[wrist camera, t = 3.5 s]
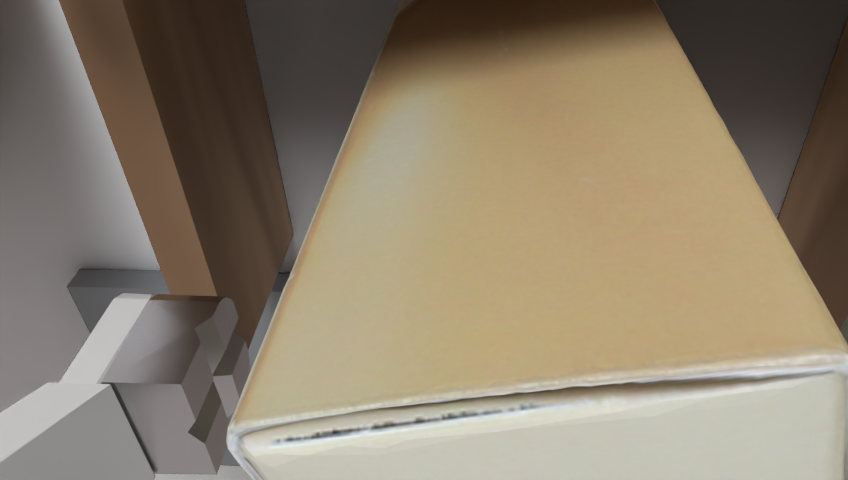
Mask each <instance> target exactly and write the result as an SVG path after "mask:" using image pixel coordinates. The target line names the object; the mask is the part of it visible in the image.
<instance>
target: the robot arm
mask: <svg viewBox="0 0 848 480" xmlns="http://www.w3.org/2000/svg"><path fill="white" fill-rule="evenodd" d="M238 318H239V317H238V314H237V311H236V308H235V305H234V302H233V300H232V299H230V298H227V297H219V296H196V295H173V294H157V295H152V294H132V293H123V294H121V295H119V296H118V297H116V298H114V299H113V300H112V302H111V303H110V305H109V306H108V308H107V309H106V311H105V312H104V314H103V315H102V317H101V319H100V320H99V322H98V323H97V325H96V326H95V328H94V329H93V331H92V332H91V334H90V335H89V337H88V338H87V340H86V341H85V343H84V344H83V346H82V348H81V349H80V351H79V352H78V354H77V355H76V357H75V358H74V360H73V361H72V363H71V364H70V366H69V367H68V369H67V370H66V372H65V374H64V375H63V377H62V378H61V380H60V381H59V382H47V383H46V384H44V385H43V386H41V387H40V388H38V389H36V390H35V391H33V392H32V393H30V394H29V395H27V396H25V397H24V398H22V399H21V400H19V401H18V402H16V403H14V404H13V405H11V406H10V407H8V408H7V409H5V410H3V411H2V412H0V480H153V479H154V478H155V474H215V475H217V472H218V470H219V467H220V464H221V461H222V459H223V456H224V453H225V450H226V448H227V443H226V437H227V428H228V426H229V422H228V419H227V417H229V416H230V415H231V414H232V413H233V412H235V409H236V407H237V404H238V402H239V399H240V397H241V394H242V391H243V389H244V386H245V384H246V381H247V379H248V376H249V372H250V363H249V352H248V349H247V345H246V341H245V340H244V339H243V338H242V337H241V336H239V335H238V334H237V333H236V332H235V331H233V330H234V328H235V325H236V323H237V320H238ZM840 332H841V333H842V335H843V337H844V339H845V341H846V343H847V345H848V316H847V317H846V319H845V321H844V323H843V325H842V327H841V330H840Z"/></svg>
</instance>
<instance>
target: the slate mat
mask: <svg viewBox="0 0 848 480" xmlns="http://www.w3.org/2000/svg"><path fill="white" fill-rule="evenodd" d="M289 276H290V274H278V275H277V277H276V280H275V282H274V285H273V288H272V290H271V293H270V295H269V298H268V300H267V303H266V306H265V308H264V311H263V313H262V316H261V318H260V321H259V323H258V326H257V329H256V331H255V334H254V336H253V339H252V341H251V344H250V347H249V349H248V352H249V363H250V371H251V369H252V366H253V364H254V362H255V359H256V357H257V354H258V352H259V349H260V347H261V344H262V342H263V340H264V337H265V335H266V332H267V330H268V327H269V325H270V322H271V320H272V317H273V315H274V312H275V310H276V307H277V304H278V302H279V299H280V297H281V294H282V292H283V289H284V287H285V285H286V283H287V281H288V278H289ZM67 288H68V290H69V292H70V294H71V296H72V298H73V300H74V302H75V304H76V306H77V308H78V310H79V312H80V314H81V316H82V318H83V320H84V322H85V324H86V326H87V328H88V330H89V331H90V333H91V332H92V331H93V329H94V328H95V326H96V325H97V323H98V322H99V320H100V319H101V317H102V315H103V314H104V312H105V311H106V309H107V308H108V306H109V305H110V303H111V302H112V300H113V299H114V298H116V297H118V296H119V295H121V294H123V293H132V294H152V295H157V294H170V292H169V289H168V287H167V284H166V281H165V279H164V276H163V273H162V271H141V270H96V269H80V270H79V271H78V272H77V274H76V275H75V276H74V278H73V279H72V280H71V282H70V283H69V284H68V286H67ZM249 374H250V372H249ZM233 414H234V412H233V413H232V414H231V415H230V416H229V417H227V419H228V422H229V423H230V421H231V419H232V416H233ZM220 465H229V466H240V464H239V463H238V462H237V461H236V459H235V458H234V457H233V455H232V454H231V452H230V451H229V450H228V447H227V448H226V450H225V453H224V456H223V459H222V461H221V464H220Z"/></svg>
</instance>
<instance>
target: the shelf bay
mask: <svg viewBox="0 0 848 480" xmlns="http://www.w3.org/2000/svg"><path fill="white" fill-rule="evenodd" d="M59 2H60V4H61V7H62V10H63V12H64V15H65V17H66V20H67V23H68V25H69V28H70V31H71V33H72V36H73V39H74V41H75V44H76V46H77V49H78V52H79V54H80V57H81V60H82V62H83V65H84V68H85V70H86V73H87V76H88V78H89V81H90V83H91V86H92V89H93V91H94V94H95V97H96V99H97V102H98V105H99V107H100V110H101V112H102V115H103V118H104V120H105V123H106V126H107V128H108V131H109V134H110V136H111V139H112V141H113V144H114V147H115V149H116V152H117V155H118V157H119V160H120V163H121V165H122V168H123V170H124V173H125V176H126V178H127V181H128V184H129V186H130V189H131V192H132V194H133V197H134V200H135V202H136V205H137V207H138V210H139V213H140V215H141V218H142V221H143V223H144V226H145V229H146V231H147V234H148V236H149V239H150V242H151V244H152V247H153V250H154V252H155V255H156V258H157V260H158V263H159V265H160V268H161V271H162V273H163V276H164V279H165V281H166V284H167V287H168V289H169V292H170V294H173V295H196V296H219V297H227V298H230V299H232V300H233V302H234V305H235V308H236V311H237V314H238V317H239V318H238V320H237V323H236V325H235V328H234V330H233V331H235V332H236V333H237V334H238V335H239V336H241V337H242V338H243V339H244V340H245V341H246V345H247V349H249V347H250V344H251V341H252V339H253V336H254V334H255V331H256V329H257V326H258V323H259V321H260V318H261V316H262V313H263V311H264V308H265V306H266V303H267V300H268V298H269V295H270V293H271V290H272V288H273V285H274V282H275V280H276V277H277V275H278V272H279V270H280V267H281V264H282V262H283V259H284V257H285V254H286V252H287V249H288V247H289V244H290V241H291V239H292V236H293V231H292V226H291V221H290V216H289V212H288V207H287V202H286V197H285V193H284V188H283V183H282V178H281V174H280V169H279V164H278V159H277V155H276V150H275V145H274V140H273V136H272V131H271V126H270V121H269V116H268V112H267V107H266V102H265V97H264V93H263V88H262V83H261V78H260V74H259V69H258V64H257V59H256V55H255V50H254V45H253V40H252V36H251V31H250V26H249V21H248V17H247V12H246V7H245V2H244V0H59ZM778 222H779V224H780V226H781V228H782V230H783V231H784V233H785V235H786V237H787V239H788V240H789V242H790V244H791V246H792V247H793V249H794V251H795V253H796V255H797V256H798V258H799V260H800V262H801V264H802V265H803V267H804V269H805V270H806V272H807V274H808V276H809V277H810V279H811V281H812V282H813V284H814V286H815V287H816V289H817V291H818V292H819V294H820V296H821V297H822V299H823V301H824V303H825V305H826V307H827V308H828V310H829V312H830V314H831V316H832V317H833V319H834V321H835V323H836V325H837V327H838V328H839V330H841V327H842V325H843V323H844V321H845V319H846V317H847V316H848V19H847V22H846V24H845V27H844V30H843V33H842V36H841V39H840V42H839V45H838V48H837V50H836V53H835V56H834V59H833V62H832V65H831V68H830V71H829V74H828V76H827V79H826V82H825V85H824V88H823V91H822V94H821V97H820V100H819V102H818V105H817V108H816V111H815V114H814V117H813V120H812V123H811V126H810V128H809V131H808V134H807V137H806V140H805V143H804V146H803V149H802V152H801V155H800V157H799V160H798V163H797V166H796V169H795V172H794V175H793V178H792V181H791V183H790V186H789V189H788V192H787V195H786V198H785V201H784V204H783V207H782V209H781V212H780V215H779V218H778ZM841 334H842V333H841ZM842 336H843V335H842Z"/></svg>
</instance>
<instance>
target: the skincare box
mask: <svg viewBox="0 0 848 480" xmlns="http://www.w3.org/2000/svg"><path fill="white" fill-rule="evenodd" d="M226 443H227V447H228V450H229V451H230V452H231V454H232V455H233V457H234V458H235V459H236V461H237V462H238V463H239V464H240V466H241V467H242V468H243V469H244V470H245V471H246V472H247V474H248V475H249V476H250V477H251V478H252V480H848V345H847V343H846V341H845V339H844V337H843V336H842V334H841V332H840V330H839V328H838V327H837V325H836V323H835V321H834V319H833V317H832V316H831V314H830V312H829V310H828V308H827V307H826V305H825V303H824V301H823V299H822V297H821V296H820V294H819V292H818V291H817V289H816V287H815V286H814V284H813V282H812V281H811V279H810V277H809V276H808V274H807V272H806V270H805V269H804V267H803V265H802V264H801V262H800V260H799V258H798V256H797V255H796V253H795V251H794V249H793V247H792V246H791V244H790V242H789V240H788V239H787V237H786V235H785V233H784V231H783V230H782V228H781V226H780V224H779V222H778V220H777V219H776V217H775V215H774V213H773V211H772V209H771V208H770V206H769V204H768V202H767V200H766V199H765V197H764V195H763V193H762V191H761V189H760V188H759V186H758V184H757V182H756V180H755V178H754V176H753V174H752V172H751V171H750V169H749V167H748V165H747V163H746V161H745V159H744V157H743V156H742V154H741V152H740V151H739V149H738V147H737V145H736V144H735V142H734V140H733V139H732V137H731V135H730V134H729V132H728V130H727V128H726V126H725V124H724V122H723V120H722V119H721V117H720V115H719V114H718V112H717V111H716V109H715V107H714V105H713V103H712V101H711V99H710V97H709V95H708V94H707V92H706V90H705V88H704V86H703V85H702V83H701V81H700V79H699V78H698V76H697V74H696V72H695V71H694V69H693V67H692V65H691V63H690V62H689V60H688V58H687V56H686V55H685V53H684V51H683V49H682V47H681V46H680V44H679V42H678V40H677V39H676V37H675V35H674V33H673V32H672V30H671V28H670V26H669V25H668V23H667V21H666V19H665V17H664V15H663V13H662V11H661V9H660V7H659V5H658V4H657V2H656V0H400V2H399V4H398V7H397V10H396V12H395V15H394V17H393V19H392V22H391V24H390V27H389V29H388V31H387V34H386V36H385V39H384V41H383V44H382V46H381V49H380V52H379V54H378V57H377V59H376V62H375V64H374V66H373V69H372V71H371V73H370V76H369V78H368V81H367V83H366V86H365V88H364V91H363V93H362V96H361V98H360V101H359V103H358V106H357V108H356V111H355V113H354V116H353V118H352V121H351V123H350V126H349V128H348V131H347V133H346V136H345V138H344V140H343V143H342V145H341V148H340V150H339V153H338V155H337V158H336V160H335V163H334V165H333V168H332V170H331V173H330V176H329V178H328V181H327V183H326V186H325V188H324V191H323V193H322V196H321V198H320V201H319V203H318V206H317V208H316V211H315V213H314V216H313V218H312V221H311V223H310V226H309V228H308V231H307V233H306V236H305V238H304V241H303V243H302V246H301V248H300V251H299V253H298V256H297V258H296V261H295V263H294V266H293V268H292V271H291V273H290V276H289V278H288V281H287V283H286V285H285V287H284V289H283V292H282V294H281V297H280V299H279V302H278V304H277V307H276V310H275V312H274V315H273V317H272V320H271V322H270V325H269V327H268V330H267V332H266V335H265V337H264V340H263V342H262V344H261V347H260V349H259V352H258V354H257V357H256V359H255V362H254V364H253V366H252V369H251V371H250V374H249V376H248V379H247V381H246V384H245V386H244V389H243V391H242V394H241V397H240V399H239V402H238V404H237V407H236V409H235V412H234V414H233V416H232V419H231V421H230V423H229V426H228V428H227V437H226Z"/></svg>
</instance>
